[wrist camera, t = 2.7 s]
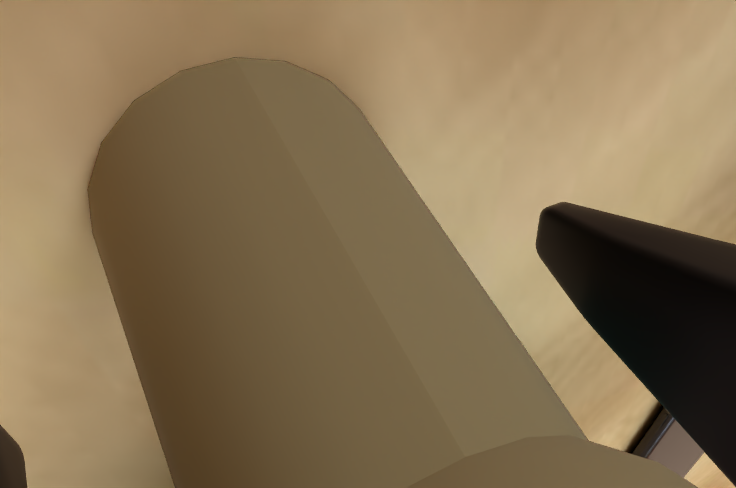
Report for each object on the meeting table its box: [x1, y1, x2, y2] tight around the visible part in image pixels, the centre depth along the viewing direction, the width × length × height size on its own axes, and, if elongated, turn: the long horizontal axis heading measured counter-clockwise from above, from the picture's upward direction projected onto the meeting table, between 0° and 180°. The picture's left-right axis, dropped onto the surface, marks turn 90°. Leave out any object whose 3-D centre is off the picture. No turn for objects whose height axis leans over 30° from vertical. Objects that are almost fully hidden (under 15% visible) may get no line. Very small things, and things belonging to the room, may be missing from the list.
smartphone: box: [632, 408, 704, 478], centre depth 31 cm, size 8×1×16 cm
